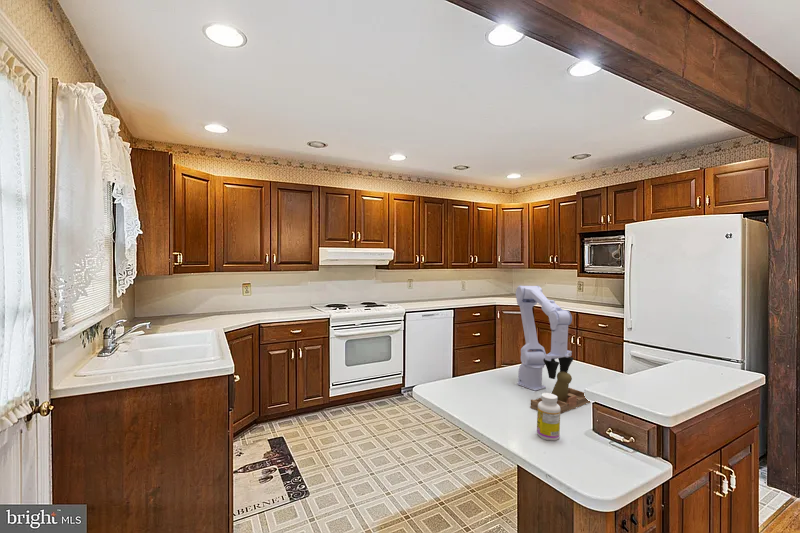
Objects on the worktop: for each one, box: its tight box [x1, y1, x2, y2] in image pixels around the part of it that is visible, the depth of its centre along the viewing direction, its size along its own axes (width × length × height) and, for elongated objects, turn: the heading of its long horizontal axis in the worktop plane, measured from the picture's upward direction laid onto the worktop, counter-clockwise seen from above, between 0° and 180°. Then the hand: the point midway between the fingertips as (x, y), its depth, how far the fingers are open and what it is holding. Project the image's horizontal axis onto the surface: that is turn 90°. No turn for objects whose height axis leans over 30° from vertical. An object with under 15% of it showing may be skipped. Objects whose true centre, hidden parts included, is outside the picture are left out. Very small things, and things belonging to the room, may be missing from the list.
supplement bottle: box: [536, 392, 561, 441], centre depth 114 cm, size 7×7×13 cm
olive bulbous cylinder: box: [550, 371, 573, 403], centre depth 139 cm, size 6×6×11 cm
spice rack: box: [530, 387, 591, 415], centre depth 139 cm, size 9×25×4 cm, turn 124°
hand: (557, 376), depth 141 cm, fingers open, 7 cm apart
